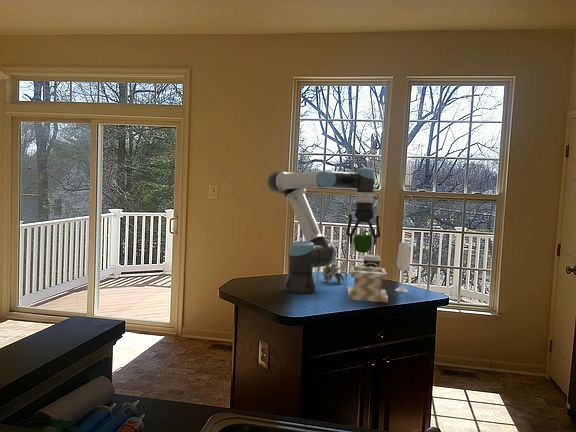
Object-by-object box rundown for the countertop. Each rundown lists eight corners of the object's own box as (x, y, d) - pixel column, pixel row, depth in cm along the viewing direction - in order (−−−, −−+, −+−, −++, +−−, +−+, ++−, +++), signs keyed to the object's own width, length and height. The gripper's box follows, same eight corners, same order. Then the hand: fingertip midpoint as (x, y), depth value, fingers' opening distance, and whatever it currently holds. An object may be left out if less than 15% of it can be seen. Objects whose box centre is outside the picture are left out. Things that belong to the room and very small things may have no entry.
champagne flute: (393, 288, 236) (395, 242, 234) (405, 289, 236) (408, 242, 235) (397, 291, 229) (400, 243, 227) (410, 292, 229) (413, 244, 228)
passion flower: (326, 292, 245) (316, 272, 248) (341, 286, 251) (331, 267, 255) (337, 284, 236) (326, 263, 240) (352, 278, 242) (341, 258, 246)
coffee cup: (383, 284, 245) (385, 256, 244) (370, 286, 240) (372, 257, 239) (370, 281, 253) (372, 253, 252) (357, 282, 248) (359, 254, 247)
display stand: (347, 299, 208) (348, 271, 208) (347, 290, 226) (349, 265, 225) (387, 302, 206) (389, 274, 205) (384, 293, 224) (386, 268, 223)
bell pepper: (356, 253, 206) (357, 231, 205) (351, 250, 214) (352, 229, 213) (374, 253, 207) (375, 231, 206) (368, 251, 215) (369, 229, 215)
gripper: (340, 201, 207) (338, 251, 209) (388, 203, 204) (385, 254, 205) (342, 200, 215) (340, 249, 216) (387, 202, 211) (385, 252, 212)
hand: (362, 251), depth 210 cm, fingers closed on bell pepper, 8 cm apart
